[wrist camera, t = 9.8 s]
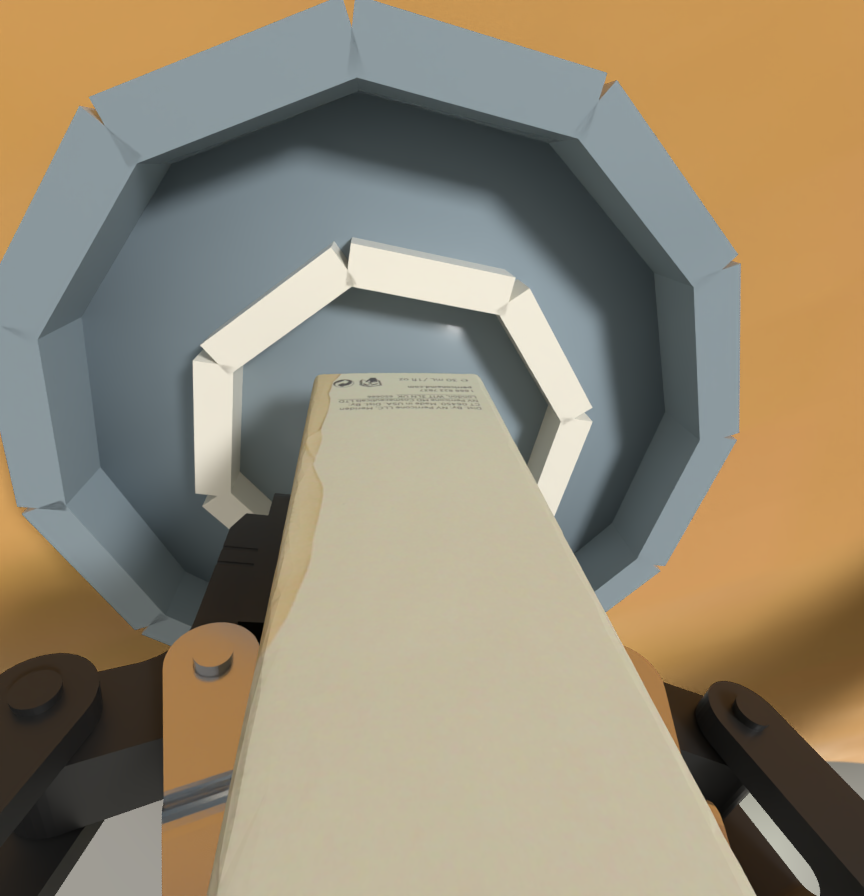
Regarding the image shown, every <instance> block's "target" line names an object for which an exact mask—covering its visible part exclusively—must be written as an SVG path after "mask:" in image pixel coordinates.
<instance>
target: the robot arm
mask: <svg viewBox="0 0 864 896" xmlns="http://www.w3.org/2000/svg"><path fill="white" fill-rule="evenodd" d="M290 496H291V494H281V493H275V494H274V497H273V500H272V504H271V507H270V511H269V514H268V515H259V514H249V513H246V514H245V515H244V516H243V517H241V518H240V519H239V520H238V521H237V522H236V523H235V524H234V525H233V526H231V527H230V529H229V532H228V534H227V537H226V540H225V542H224V545H223V549H222V550H221V553H220V555H219V558H218V560H217V565H216V566H215V568H214V571H213V573H212V576H211V579H210V581H209V584H208V586H207V589H206V592H205V594H204V597H203V599H202V602H201V605H200V607H199V610H198V612H197V615H196V618H195V620H194V623H193V625H192V627H191V629H190V630H189V631H188V632H187V633H185V634H184V635H182V636H181V637H180V638H179V639H177V640H176V641H175V642H174V643H173V645H172V646H171V647H170V648H169V650H168V651H166V652H165V653H163V654H161V655H159V656H157V657H155V658H152V659H149V660H147V661H143V662H140V663H136V664H131V665H127V666H122V667H118V668H114V669H109V670H105V671H100V672H97V670H96V668H95V666H94V665H93V664H92V663H91V662H90V661H89V660H87V659H86V658H84V657H81V656H78V655H74V654H66V653H57V654H48V655H43V656H39V657H36V658H32V659H29V660H27V661H24V662H22V663H19V664H17V665H15V666H14V667H12V668H10V669H8V670H6V671H5V672H3V673H2V674H0V896H55V894H56V893H57V891H58V890H59V888H60V887H61V885H62V884H63V882H64V881H65V879H66V878H67V876H68V874H69V873H70V872H71V870H72V869H73V867H74V865H75V864H76V862H77V861H78V859H79V858H80V856H81V855H82V853H83V852H84V850H85V849H86V847H87V846H88V844H89V843H90V841H91V840H92V838H93V837H94V835H95V834H96V832H97V830H98V829H99V828H100V826H101V824H102V823H103V821H104V820H105V819H107V818H110V817H113V816H116V815H119V814H121V813H125V812H127V811H130V810H133V809H136V808H139V807H142V806H145V805H147V804H150V803H153V802H156V801H159V800H162V799H164V802H163V808H162V896H207V892H208V887H209V882H210V878H211V873H212V869H213V864H214V859H215V854H216V849H217V845H218V840H219V835H220V830H221V826H222V821H223V816H224V811H225V807H226V802H227V797H228V792H229V787H230V783H231V778H232V773H233V768H234V764H235V759H236V754H237V749H238V744H239V740H240V735H241V730H242V725H243V721H244V716H245V711H246V707H247V702H248V698H249V693H250V689H251V684H252V680H253V675H254V670H255V665H256V661H257V656H258V651H259V646H260V641H261V636H262V632H263V627H264V622H265V617H266V612H267V607H268V603H269V598H270V593H271V588H272V583H273V578H274V574H275V570H276V566H277V561H278V556H279V551H280V546H281V541H282V536H283V530H284V526H285V521H286V516H287V511H288V506H289V501H290ZM624 648H625V650H626V652H627V654H628V655H629V657H630V659H631V661H632V663H633V665H634V667H635V669H636V671H637V672H638V674H639V676H640V678H641V680H642V682H643V684H644V686H645V688H646V690H647V692H648V694H649V696H650V697H651V699H652V701H653V703H654V705H655V707H656V709H657V711H658V712H659V714H660V716H661V718H662V720H663V722H664V724H665V725H666V727H667V729H668V731H669V733H670V735H671V737H672V738H673V740H674V742H675V744H676V746H677V748H678V750H679V752H680V754H681V756H682V757H683V759H684V761H685V763H686V765H687V767H688V769H689V771H690V773H691V774H692V776H693V778H694V780H695V782H696V784H697V786H698V787H699V789H700V791H701V793H702V795H703V797H704V798H705V800H706V802H707V804H708V806H709V808H710V809H711V811H712V813H713V815H714V817H715V820H716V822H717V824H718V826H719V828H720V830H721V832H722V834H723V836H724V837H725V839H726V841H727V843H728V845H729V846H730V848H731V850H732V852H733V853H734V855H735V857H736V859H737V860H738V862H739V864H740V866H741V868H742V869H743V871H744V873H745V875H746V877H747V879H748V881H749V883H750V885H751V886H752V888H753V890H754V892H755V894H756V896H816V895H814V894H813V893H811V892H810V891H808V890H807V889H806V888H805V887H804V886H803V885H802V884H801V883H800V882H799V880H798V879H797V878H796V877H795V875H794V874H793V873H792V872H791V870H790V869H789V868H788V866H787V865H786V864H785V863H784V861H783V860H782V859H781V858H780V856H779V855H778V854H777V853H776V851H775V850H774V849H773V847H772V846H771V845H770V844H769V842H768V841H767V840H766V839H765V837H764V836H763V835H762V834H761V832H760V831H759V830H758V828H757V827H756V826H755V825H754V823H753V822H752V821H751V819H750V818H749V817H748V816H747V814H746V813H745V812H744V811H743V809H742V808H741V807H740V806H739V803H740V802H741V801H742V800H743V799H744V798H745V797H746V796H747V795H748V793H751V794H752V796H753V797H754V798H755V799H756V800H757V802H758V803H759V804H760V805H761V807H762V808H763V809H764V810H765V811H766V813H767V814H768V815H769V816H770V818H771V819H772V820H773V821H774V822H775V824H776V825H777V826H778V827H779V829H780V830H781V831H782V832H783V833H784V835H785V836H786V837H787V838H788V840H789V841H790V842H791V843H792V844H793V846H794V847H795V848H796V849H797V851H798V852H799V853H800V854H801V855H802V857H803V858H804V859H805V860H806V862H807V863H808V864H809V866H810V867H811V869H812V870H813V872H814V874H815V876H816V878H817V880H818V882H819V887H820V896H864V800H863V799H862V798H861V797H860V796H859V795H858V794H857V793H856V792H855V791H854V790H853V789H852V788H851V787H850V786H849V785H848V784H847V783H846V782H845V781H844V780H843V779H842V778H841V777H840V776H839V775H838V774H837V773H836V772H835V771H834V770H833V769H832V768H831V766H830V765H829V764H828V763H827V762H826V761H825V760H824V759H823V758H822V757H821V756H820V755H819V754H818V753H817V752H816V751H815V750H814V749H813V748H812V747H811V746H810V745H809V744H808V743H807V742H806V741H805V740H804V739H803V738H802V737H801V736H800V735H799V734H798V733H797V732H796V731H795V730H794V729H793V728H792V727H791V726H790V725H789V724H788V723H787V722H786V720H785V719H784V718H783V717H782V716H781V715H780V714H779V713H778V712H777V711H776V710H775V709H774V708H773V707H772V706H771V705H770V704H769V703H768V702H766V701H765V700H764V699H763V698H761V697H760V696H759V695H757V694H756V693H754V692H753V691H751V690H749V689H748V688H746V687H744V686H741V685H739V684H736V683H733V682H728V681H720V682H716V683H714V684H713V685H712V686H711V687H710V688H709V689H708V691H707V692H706V693H705V695H704V696H702V695H699V694H696V693H693V692H690V691H687V690H684V689H682V688H679V687H676V686H673V685H670V684H667V683H664V682H663V681H662V679H661V677H660V675H659V673H658V672H657V671H656V669H655V668H654V667H653V666H652V664H651V663H650V662H648V661H647V660H646V659H645V658H644V657H643V656H641V655H640V654H638V653H637V652H635V651H634V650H632V649H630V648H628V647H625V646H624Z"/></svg>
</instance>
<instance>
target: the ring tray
mask: <svg viewBox="0 0 864 896" xmlns="http://www.w3.org/2000/svg"><path fill="white" fill-rule="evenodd" d="M606 75H607V73H606V72H603V71H600V70H596V69H593V68H590V67H587V66H583V65H580V64H577V63H574V62H570V61H567V60H564V59H561V58H558V57H554V56H551V55H548V54H545V53H541V52H538V51H535V50H532V49H528V48H525V47H522V46H519V45H516V44H512V43H509V42H506V41H503V40H499V39H496V38H493V37H490V36H486V35H483V34H480V33H477V32H474V31H470V30H467V29H464V28H461V27H457V26H454V25H451V24H448V23H444V22H441V21H438V20H435V19H432V18H428V17H425V16H422V15H419V14H415V13H412V12H409V11H406V10H402V9H399V8H396V7H393V6H390V5H386V4H383V3H380V2H377V1H373V0H355V4H354V13H353V23H352V27H351V24H350V20H349V17H348V14H347V11H346V8H345V5H344V1H343V0H329V1H326V2H324V3H321V4H319V5H317V6H314V7H312V8H309V9H307V10H304V11H302V12H299V13H297V14H294V15H292V16H289V17H287V18H284V19H282V20H279V21H277V22H274V23H272V24H269V25H267V26H264V27H262V28H259V29H257V30H254V31H252V32H249V33H247V34H244V35H242V36H239V37H237V38H235V39H232V40H230V41H227V42H225V43H222V44H220V45H217V46H215V47H212V48H210V49H207V50H205V51H202V52H200V53H197V54H195V55H192V56H190V57H187V58H185V59H182V60H180V61H177V62H175V63H172V64H170V65H167V66H165V67H162V68H160V69H157V70H155V71H153V72H150V73H148V74H145V75H143V76H140V77H138V78H135V79H133V80H130V81H128V82H125V83H123V84H120V85H118V86H115V87H113V88H110V89H108V90H105V91H103V92H100V93H98V94H95V95H93V96H90V97H89V98H90V100H91V102H92V104H93V105H94V107H95V109H92V108H88V107H83V106H79V108H78V110H77V112H76V114H75V116H74V118H73V120H72V122H71V124H70V126H69V128H68V130H67V132H66V134H65V136H64V138H63V140H62V142H61V144H60V146H59V148H58V150H57V152H56V154H55V156H54V158H53V160H52V162H51V164H50V166H49V168H48V170H47V172H46V174H45V176H44V178H43V180H42V182H41V184H40V186H39V188H38V190H37V192H36V194H35V196H34V198H33V200H32V202H31V204H30V206H29V208H28V210H27V212H26V214H25V216H24V217H23V219H22V221H21V223H20V225H19V227H18V229H17V231H16V233H15V235H14V237H13V239H12V241H11V243H10V245H9V247H8V249H7V251H6V253H5V255H4V257H3V259H2V261H1V263H0V433H1V437H2V442H3V446H4V450H5V455H6V459H7V464H8V468H9V472H10V477H11V481H12V485H13V490H14V494H15V499H16V503H17V507H28V508H27V509H26V510H25V511H24V512H23V513H22V515H23V516H24V517H25V518H26V519H27V520H28V521H29V522H30V523H31V524H32V525H33V526H34V527H35V528H36V529H37V530H38V531H39V532H40V533H41V534H42V535H43V536H44V537H45V538H46V539H47V540H48V541H49V542H50V544H51V545H52V546H53V547H54V548H55V549H56V550H57V551H58V552H59V553H60V554H61V555H62V556H63V557H64V558H65V559H66V560H67V561H68V562H69V563H70V564H71V565H72V566H73V567H74V568H75V569H76V570H77V571H78V572H79V573H80V574H81V575H82V576H83V577H84V578H85V579H86V580H87V581H88V582H89V583H90V585H91V586H92V587H93V588H94V589H95V590H96V591H97V592H98V593H99V594H100V595H101V596H102V597H103V598H104V599H105V600H106V601H107V602H108V603H109V604H110V605H111V606H112V607H113V608H114V609H115V610H116V611H117V612H118V613H119V614H120V615H121V616H122V617H123V618H124V619H125V620H126V621H127V622H128V623H129V625H130V626H131V627H132V628H133V629H134V630H137V629H140V628H143V627H145V628H144V630H143V632H142V635H144V636H147V637H150V638H152V639H155V640H157V641H160V642H162V643H165V644H167V645H170V646H172V645H173V643H174V642H175V641H176V640H177V639H179V638H180V637H181V636H182V635H184V634H185V633H187V632H188V631H189V630H190V629H191V627H192V625H193V623H194V620H195V618H196V615H197V612H198V610H199V607H200V605H201V602H202V599H203V597H204V594H205V592H206V589H207V586H208V584H209V581H210V579H211V576H212V573H213V571H214V568H215V566H216V565H217V560H218V558H219V555H220V553H221V550H222V549H223V545H224V542H225V540H226V537H227V534H228V532H229V529H230V527H231V526H233V525H234V524H235V523H236V522H237V521H238V520H239V519H240V518H241V517H243V516H244V515H245V514H246V513H249V514H259V515H268V514H269V511H270V507H271V504H272V500H273V497H274V494H275V493H281V494H291V492H292V487H293V482H294V477H295V472H296V467H297V462H298V457H299V452H300V447H301V442H302V437H303V432H304V428H305V423H306V418H307V413H308V408H309V403H310V397H311V393H312V388H313V383H314V380H315V377H317V376H318V375H322V374H349V373H449V374H475V375H478V376H479V377H480V378H481V380H482V382H483V384H484V386H485V388H486V390H487V391H488V393H489V395H490V397H491V399H492V401H493V403H494V404H495V406H496V408H497V410H498V412H499V414H500V416H501V418H502V420H503V421H504V423H505V425H506V427H507V429H508V431H509V433H510V435H511V437H512V439H513V441H514V442H515V444H516V446H517V448H518V450H519V452H520V453H521V455H522V457H523V459H524V461H525V463H526V464H527V466H528V468H529V470H530V472H531V474H532V476H533V477H534V479H535V481H536V483H537V485H538V487H539V489H540V491H541V493H542V494H543V496H544V498H545V500H546V502H547V504H548V506H549V508H550V510H551V511H552V513H553V515H554V517H555V519H556V521H557V523H558V525H559V526H560V528H561V530H562V532H563V535H564V537H565V539H566V541H567V543H568V544H569V546H570V548H571V550H572V552H573V553H574V555H575V557H576V559H577V561H578V562H579V564H580V566H581V568H582V570H583V572H584V574H585V576H586V577H587V579H588V581H589V583H590V585H591V587H592V589H593V591H594V592H595V594H596V596H597V598H598V600H599V602H600V603H601V605H602V607H603V609H604V611H605V612H607V611H608V610H609V609H611V608H612V607H613V606H615V605H616V604H617V603H619V602H620V601H621V600H623V599H624V598H625V597H627V596H628V595H629V594H631V593H632V592H633V591H635V590H636V589H637V588H639V587H640V586H641V585H643V584H644V583H645V582H646V581H648V580H649V579H650V578H652V577H653V576H654V575H656V574H657V573H658V572H660V569H659V568H658V567H657V565H660V566H665V565H666V563H667V562H668V560H669V558H670V556H671V555H672V553H673V551H674V549H675V548H676V546H677V544H678V542H679V541H680V539H681V537H682V535H683V534H684V532H685V530H686V528H687V527H688V525H689V523H690V521H691V520H692V518H693V516H694V514H695V513H696V511H697V509H698V507H699V506H700V504H701V502H702V500H703V499H704V497H705V495H706V493H707V492H708V490H709V488H710V486H711V485H712V483H713V481H714V479H715V478H716V476H717V474H718V472H719V471H720V469H721V467H722V465H723V464H724V462H725V460H726V458H727V457H728V455H729V453H730V451H731V449H732V448H733V446H734V444H735V442H736V441H737V440H736V439H735V438H734V437H732V436H731V435H733V434H736V433H739V389H740V269H741V263H737V262H733V261H732V260H733V259H734V258H735V257H736V256H737V255H738V254H737V252H736V251H735V249H734V248H733V247H732V245H731V244H730V242H729V241H728V239H727V238H726V237H725V235H724V234H723V232H722V231H721V229H720V228H719V226H718V225H717V224H716V222H715V221H714V219H713V218H712V216H711V215H710V213H709V212H708V211H707V209H706V208H705V206H704V205H703V203H702V202H701V201H700V199H699V198H698V196H697V195H696V193H695V192H694V190H693V189H692V188H691V186H690V185H689V183H688V182H687V180H686V179H685V178H684V176H683V175H682V173H681V172H680V170H679V169H678V167H677V166H676V165H675V163H674V162H673V160H672V159H671V157H670V156H669V154H668V153H667V152H666V150H665V149H664V147H663V146H662V144H661V143H660V142H659V140H658V139H657V137H656V136H655V134H654V133H653V131H652V130H651V129H650V127H649V126H648V124H647V123H646V121H645V120H644V119H643V117H642V116H641V114H640V113H639V111H638V110H637V108H636V107H635V106H634V104H633V103H632V101H631V100H630V98H629V97H628V95H627V94H626V93H625V91H624V90H623V88H622V87H621V85H620V84H619V83H618V81H617V80H615V81H613V82H610V83H607V84H604V82H605V79H606Z"/></svg>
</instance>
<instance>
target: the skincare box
mask: <svg viewBox="0 0 864 896" xmlns="http://www.w3.org/2000/svg"><path fill="white" fill-rule="evenodd" d="M207 896H756V894H755V892H754V890H753V888H752V886H751V885H750V883H749V881H748V879H747V877H746V875H745V873H744V871H743V869H742V868H741V866H740V864H739V862H738V860H737V859H736V857H735V855H734V853H733V852H732V850H731V848H730V846H729V845H728V843H727V841H726V839H725V837H724V836H723V834H722V832H721V830H720V828H719V826H718V824H717V822H716V820H715V817H714V815H713V813H712V811H711V809H710V808H709V806H708V804H707V802H706V800H705V798H704V797H703V795H702V793H701V791H700V789H699V787H698V786H697V784H696V782H695V780H694V778H693V776H692V774H691V773H690V771H689V769H688V767H687V765H686V763H685V761H684V759H683V757H682V756H681V754H680V752H679V750H678V748H677V746H676V744H675V742H674V740H673V738H672V737H671V735H670V733H669V731H668V729H667V727H666V725H665V724H664V722H663V720H662V718H661V716H660V714H659V712H658V711H657V709H656V707H655V705H654V703H653V701H652V699H651V697H650V696H649V694H648V692H647V690H646V688H645V686H644V684H643V682H642V680H641V678H640V676H639V674H638V672H637V671H636V669H635V667H634V665H633V663H632V661H631V659H630V657H629V655H628V654H627V652H626V650H625V648H624V646H623V645H622V643H621V641H620V639H619V637H618V635H617V633H616V631H615V629H614V628H613V626H612V624H611V622H610V620H609V618H608V616H607V614H606V613H605V611H604V609H603V607H602V605H601V603H600V602H599V600H598V598H597V596H596V594H595V592H594V591H593V589H592V587H591V585H590V583H589V581H588V579H587V577H586V576H585V574H584V572H583V570H582V568H581V566H580V564H579V562H578V561H577V559H576V557H575V555H574V553H573V552H572V550H571V548H570V546H569V544H568V543H567V541H566V539H565V537H564V535H563V532H562V530H561V528H560V526H559V525H558V523H557V521H556V519H555V517H554V515H553V513H552V511H551V510H550V508H549V506H548V504H547V502H546V500H545V498H544V496H543V494H542V493H541V491H540V489H539V487H538V485H537V483H536V481H535V479H534V477H533V476H532V474H531V472H530V470H529V468H528V466H527V464H526V463H525V461H524V459H523V457H522V455H521V453H520V452H519V450H518V448H517V446H516V444H515V442H514V441H513V439H512V437H511V435H510V433H509V431H508V429H507V427H506V425H505V423H504V421H503V420H502V418H501V416H500V414H499V412H498V410H497V408H496V406H495V404H494V403H493V401H492V399H491V397H490V395H489V393H488V391H487V390H486V388H485V386H484V384H483V382H482V380H481V378H480V377H479V376H478V375H475V374H449V373H349V374H322V375H318V376H317V377H315V380H314V383H313V388H312V393H311V397H310V403H309V408H308V413H307V418H306V423H305V428H304V432H303V437H302V442H301V447H300V452H299V457H298V462H297V467H296V472H295V477H294V482H293V487H292V492H291V496H290V501H289V506H288V511H287V516H286V521H285V526H284V530H283V536H282V541H281V546H280V551H279V556H278V561H277V566H276V570H275V574H274V578H273V583H272V588H271V593H270V598H269V603H268V607H267V612H266V617H265V622H264V627H263V632H262V636H261V641H260V646H259V651H258V656H257V661H256V665H255V670H254V675H253V680H252V684H251V689H250V693H249V698H248V702H247V707H246V711H245V716H244V721H243V725H242V730H241V735H240V740H239V744H238V749H237V754H236V759H235V764H234V768H233V773H232V778H231V783H230V787H229V792H228V797H227V802H226V807H225V811H224V816H223V821H222V826H221V830H220V835H219V840H218V845H217V849H216V854H215V859H214V864H213V869H212V873H211V878H210V882H209V887H208V892H207Z"/></svg>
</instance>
